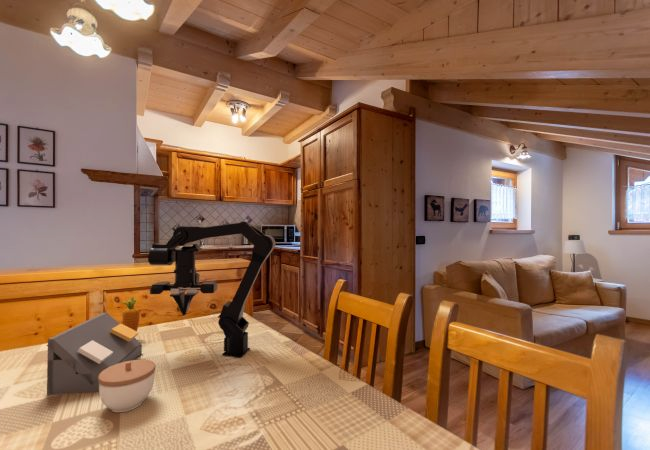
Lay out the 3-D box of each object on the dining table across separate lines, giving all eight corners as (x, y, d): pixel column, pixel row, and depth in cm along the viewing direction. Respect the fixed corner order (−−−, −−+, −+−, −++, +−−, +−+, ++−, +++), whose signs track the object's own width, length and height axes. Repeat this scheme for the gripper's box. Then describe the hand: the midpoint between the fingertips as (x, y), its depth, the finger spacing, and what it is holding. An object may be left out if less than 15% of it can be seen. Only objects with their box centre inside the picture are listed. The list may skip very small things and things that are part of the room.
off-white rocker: (113, 354, 79) (109, 336, 78) (102, 363, 74) (98, 343, 73) (93, 359, 78) (89, 340, 78) (80, 368, 73) (76, 348, 73)
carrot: (130, 344, 101) (131, 299, 101) (118, 343, 102) (119, 299, 102) (142, 339, 105) (143, 296, 106) (130, 338, 106) (131, 295, 107)
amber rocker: (139, 334, 92) (135, 319, 92) (131, 340, 87) (126, 324, 87) (122, 339, 92) (118, 324, 92) (113, 346, 87) (109, 329, 87)
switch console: (141, 353, 94) (142, 311, 94) (98, 391, 72) (99, 337, 72) (101, 355, 92) (102, 312, 92) (45, 394, 70) (46, 339, 71)
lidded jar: (111, 426, 60) (112, 379, 60) (88, 408, 66) (89, 365, 66) (164, 400, 69) (165, 359, 69) (140, 386, 75) (140, 348, 75)
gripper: (221, 262, 104) (220, 307, 104) (164, 262, 101) (163, 308, 101) (213, 266, 93) (212, 317, 93) (149, 266, 90) (148, 318, 90)
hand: (184, 314), depth 95 cm, fingers closed
